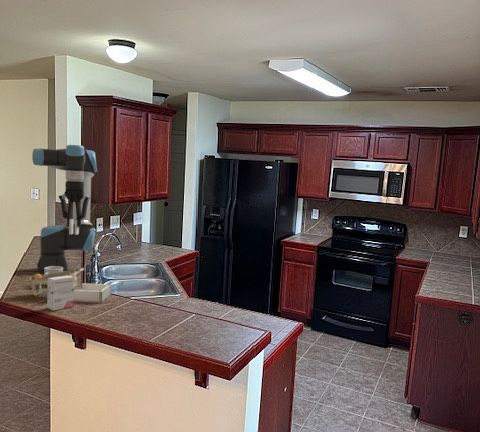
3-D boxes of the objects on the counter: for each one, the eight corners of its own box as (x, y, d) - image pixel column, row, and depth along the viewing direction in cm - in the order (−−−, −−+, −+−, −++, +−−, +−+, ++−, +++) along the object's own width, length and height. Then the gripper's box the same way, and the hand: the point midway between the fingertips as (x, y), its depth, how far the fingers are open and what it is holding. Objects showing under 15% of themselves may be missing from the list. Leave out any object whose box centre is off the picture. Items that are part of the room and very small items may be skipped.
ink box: (68, 304, 176) (69, 274, 175) (74, 306, 173) (74, 276, 172) (46, 308, 170) (46, 277, 169) (52, 311, 167) (52, 279, 166)
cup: (52, 289, 197) (52, 271, 196) (36, 287, 198) (36, 269, 197) (66, 283, 207) (66, 266, 206) (50, 282, 209) (51, 265, 208)
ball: (36, 280, 188) (35, 273, 187) (43, 280, 188) (42, 272, 187) (32, 282, 185) (31, 274, 184) (40, 281, 184) (39, 274, 184)
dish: (82, 293, 192) (82, 283, 192) (110, 294, 192) (111, 284, 191) (71, 301, 180) (71, 290, 180) (101, 302, 180) (102, 291, 180)
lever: (49, 287, 199) (45, 270, 198) (86, 279, 198) (82, 262, 197) (33, 296, 184) (28, 278, 183) (73, 287, 183) (68, 269, 182)
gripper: (54, 180, 192) (53, 234, 194) (88, 181, 191) (87, 236, 194) (61, 179, 199) (60, 232, 201) (94, 181, 199) (93, 233, 201)
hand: (73, 234), depth 197 cm, fingers open, 2 cm apart
